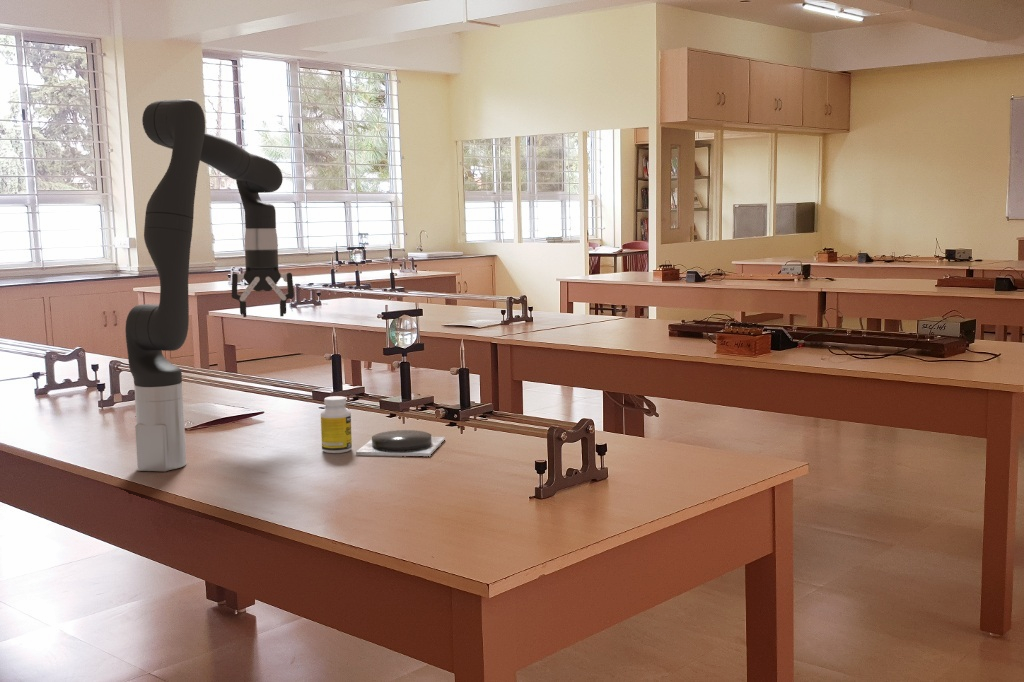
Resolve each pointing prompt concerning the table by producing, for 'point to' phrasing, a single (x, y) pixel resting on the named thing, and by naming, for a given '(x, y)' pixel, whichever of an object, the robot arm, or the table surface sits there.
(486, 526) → the table surface
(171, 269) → the robot arm
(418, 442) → the stand
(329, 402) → the pill bottle
